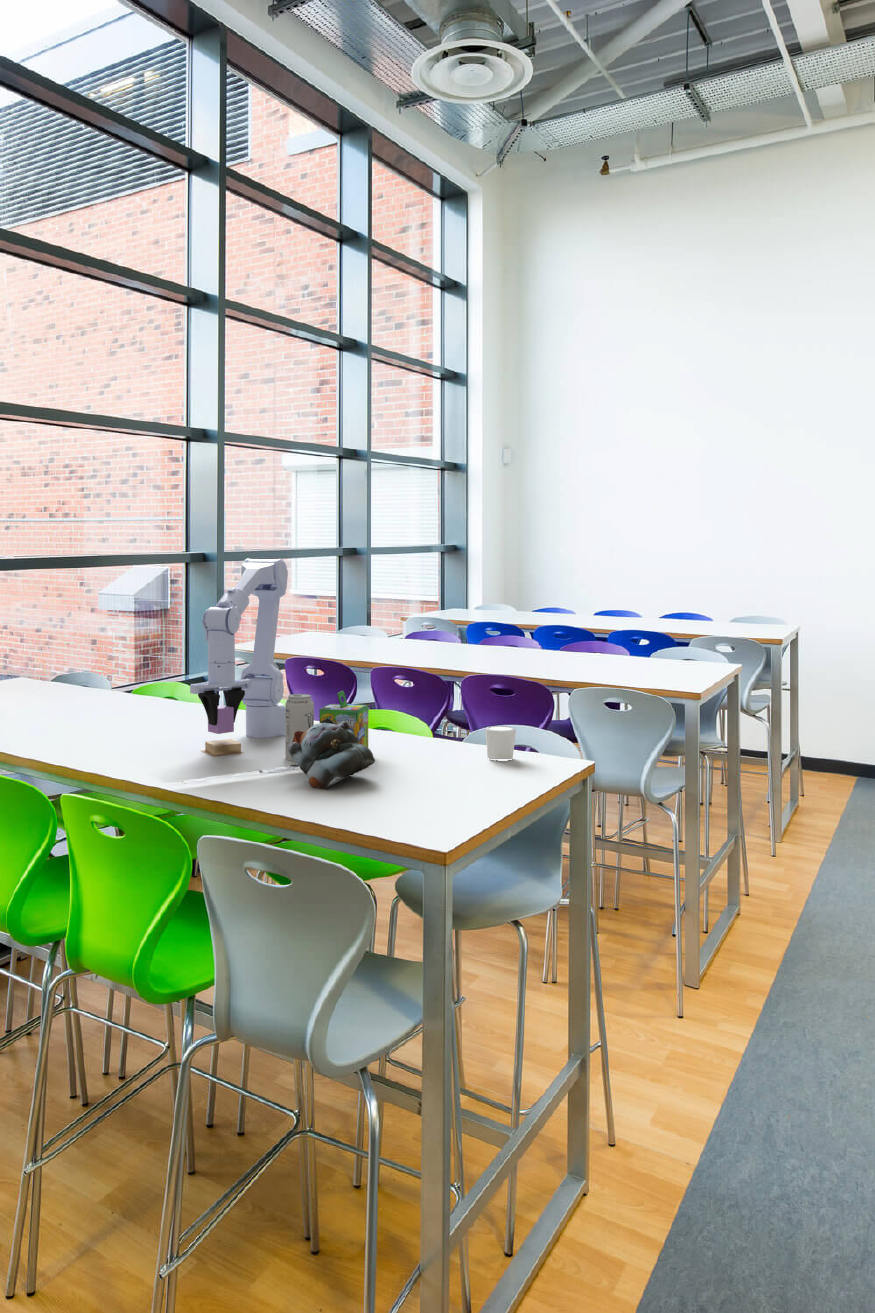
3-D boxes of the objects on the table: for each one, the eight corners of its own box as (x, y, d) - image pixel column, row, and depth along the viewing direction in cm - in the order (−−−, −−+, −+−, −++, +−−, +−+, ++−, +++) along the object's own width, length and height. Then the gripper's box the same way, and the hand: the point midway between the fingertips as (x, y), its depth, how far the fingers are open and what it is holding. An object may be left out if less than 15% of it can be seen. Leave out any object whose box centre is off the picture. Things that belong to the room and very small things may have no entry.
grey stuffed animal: (314, 793, 169) (286, 725, 171) (303, 802, 180) (276, 739, 182) (384, 764, 175) (356, 699, 177) (369, 774, 186) (343, 713, 188)
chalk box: (358, 762, 196) (358, 695, 194) (318, 760, 198) (318, 693, 196) (369, 754, 205) (370, 690, 203) (331, 751, 207) (331, 688, 205)
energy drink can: (308, 768, 190) (308, 698, 188) (281, 766, 191) (281, 696, 189) (317, 762, 195) (317, 694, 194) (291, 760, 197) (291, 693, 195)
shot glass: (479, 759, 200) (480, 729, 200) (492, 754, 207) (493, 724, 206) (508, 763, 197) (508, 732, 197) (520, 757, 203) (520, 727, 203)
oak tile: (231, 747, 202) (231, 739, 202) (241, 752, 197) (241, 743, 197) (205, 750, 199) (205, 741, 199) (214, 755, 194) (214, 746, 194)
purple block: (223, 729, 201) (223, 705, 200) (233, 731, 198) (233, 707, 197) (208, 731, 198) (207, 707, 197) (218, 734, 195) (217, 709, 194)
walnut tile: (230, 755, 203) (229, 747, 203) (243, 761, 198) (243, 752, 197) (200, 759, 199) (200, 750, 199) (213, 765, 193) (213, 756, 193)
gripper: (238, 658, 204) (239, 717, 205) (182, 662, 193) (182, 724, 195) (257, 661, 199) (257, 721, 201) (200, 665, 189) (200, 729, 190)
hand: (221, 723), depth 197 cm, fingers closed on purple block, 4 cm apart
